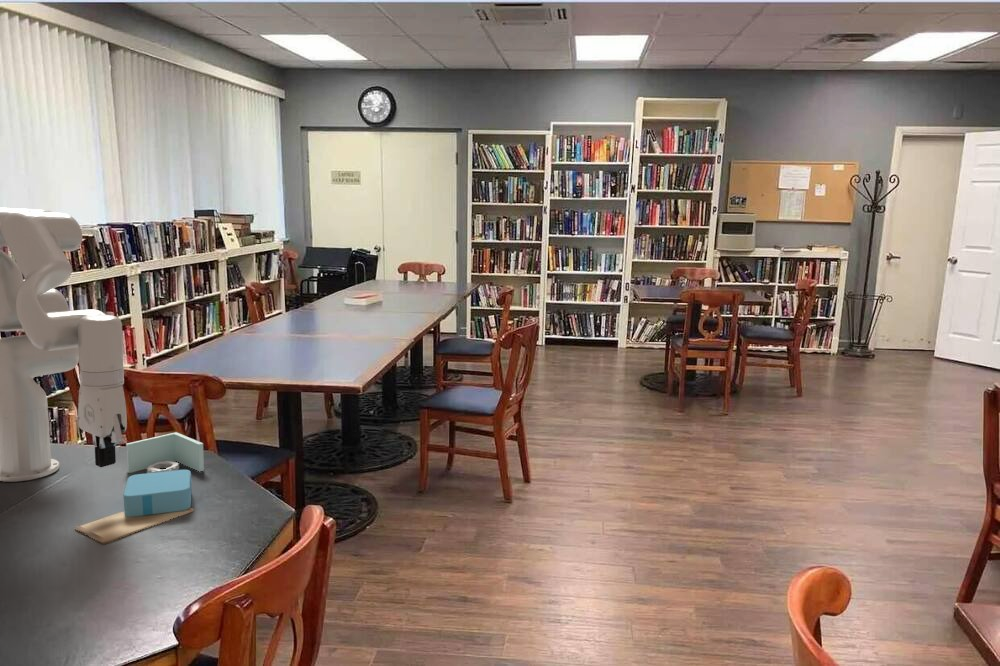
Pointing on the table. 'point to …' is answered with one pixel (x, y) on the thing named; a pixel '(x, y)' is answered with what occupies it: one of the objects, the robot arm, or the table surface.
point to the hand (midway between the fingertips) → (105, 464)
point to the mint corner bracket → (164, 453)
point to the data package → (157, 493)
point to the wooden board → (124, 525)
